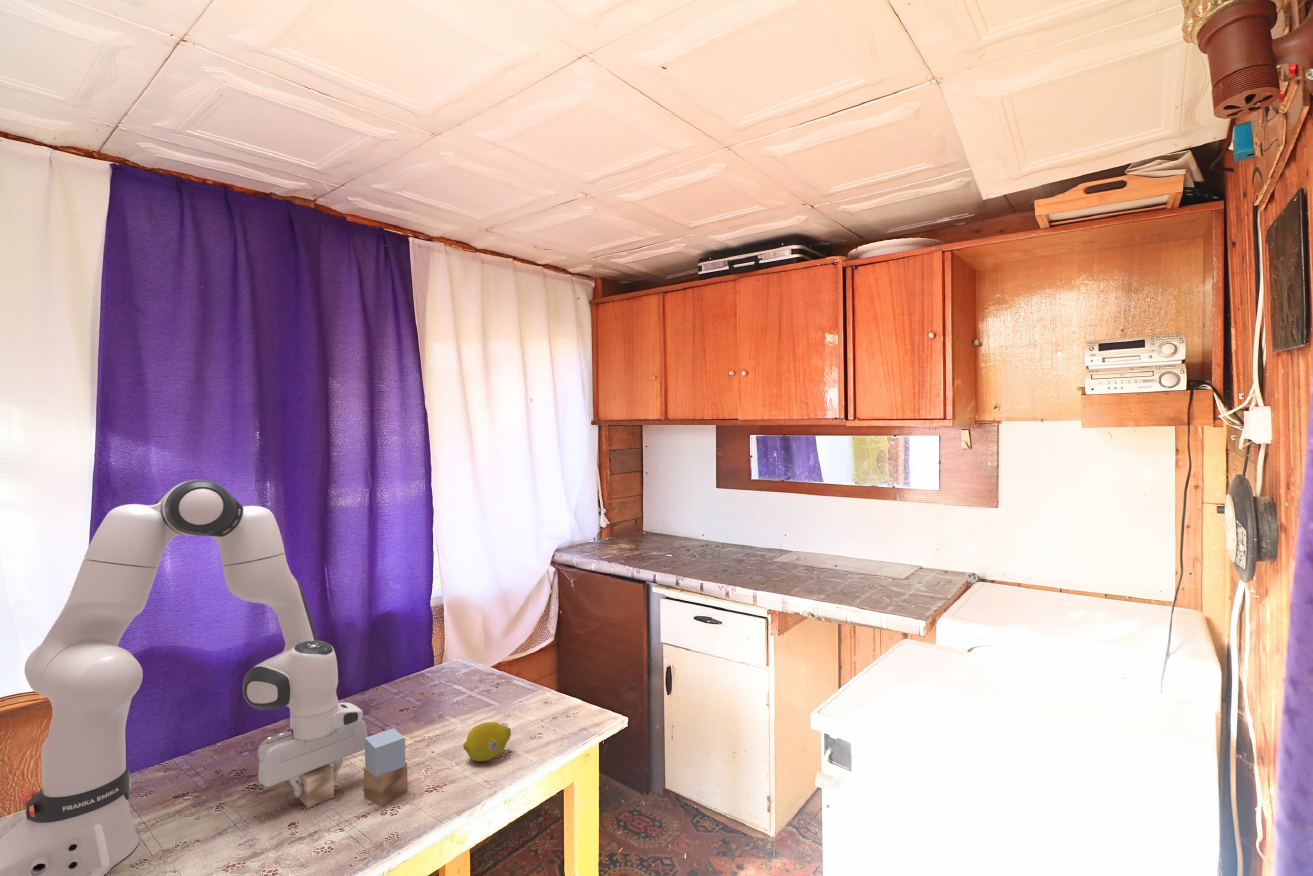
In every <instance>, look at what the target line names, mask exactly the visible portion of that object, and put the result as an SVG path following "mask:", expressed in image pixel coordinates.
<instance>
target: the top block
mask: <svg viewBox="0 0 1313 876" xmlns="http://www.w3.org/2000/svg"><path fill="white" fill-rule="evenodd" d="M405 762H406V737H405V736H404V735H402V733H400V731H398V730H397V729H396V728H394V727H392V728H390V729H387V730H384V731H381V732H379V733H378V732H377V733H375V734H373V735H370V736H369V735H368V737H366V738H365V749H364V763H365V764H364V767H365V768H367V769H368V770H369V771H370V772H371V773H372V774H373V775H374V776H375V777H379V776H381V775H384V774H387V773H389V772H392V771H394V770H397V769H399V768H402V767H405Z"/></svg>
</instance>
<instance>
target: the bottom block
mask: <svg viewBox="0 0 1313 876" xmlns="http://www.w3.org/2000/svg"><path fill="white" fill-rule="evenodd" d="M408 783H409V781H408V762H406V761H405V767H402V768H399V769H397V770H394V771H392V772H389V773H387V774H384V775H381V776H379V777H375V776H374V775H373V774H372V773H371V772H370V771H369V770H368V769H367V768H366V767H365V768H363V798H364V799H366V800H369V801H371V802H373V803H374V804H377V805H379V806H381V807H383V806H385V805H387V804H388V803H390V802H392V801H394V800H396V799H397V798H398V797H401V796H402V795H404V794H406V793H407V792H409V789H408V788H409V787H408V786H409V785H408Z"/></svg>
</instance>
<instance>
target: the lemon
mask: <svg viewBox="0 0 1313 876" xmlns="http://www.w3.org/2000/svg"><path fill="white" fill-rule="evenodd" d="M511 736H512V730H511V728H510V727H509V726H507V725H504V724H502V723H499V722H496V721H495V722H494V721H489V722H482V723H479V724H477V725H475V726H474V727H473V728H472V729H470V730H469V733H468V734H467V736H466V740H465V742H464V743H463V746H462V747H463V750H465V751H466V753H467V755H468V757H469V758H470V759H472V761H476V762H479V763H480V762H481V763H482V762H487V761H491V760H493V759H494V758H496V757H497V756H499V755H500V753H502V752H503V750H504V749H505V747H506V746H507V743H508V742H509V740H510V737H511Z"/></svg>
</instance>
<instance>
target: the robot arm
mask: <svg viewBox="0 0 1313 876" xmlns="http://www.w3.org/2000/svg"><path fill="white" fill-rule="evenodd" d="M181 535H184V536H188V537H190V536H193V537H195V536H196V537H197V536H201V537H202V536H204V537H211V538H213V539H214V540H215V541H216V543H217V545H218V547H219V551H220V556H221V564H222V569H223V575H224V581H225V585H226V586H227V588H228V590H229V592H230V594H231V595H233V596H234V597H236V598H238V599H240V600H241V601H244V602H249V603H254V604H263V605H266V606H268V607H270V608H271V609H272V610H273V611H274V613H276V616H277V620H278V623H279V626H280V629H281V632H282V637H283V640H284V645H285V646H284V648H283V651H282V652H280V653H278V654H276V655H274V656H272V657H269V658H268V659H265V660H263V661H261V662H260V663H258V664H256V665H255V666H254V667H252V668H250V669H249V670H248V671H246V673H245V675H244V677H243V680H242V686H241V691H242V695H243V699H244V700H245V702H246V704H248V705H249V706H250V707H252V708H253V709H256V710H259V711H271V710H276V709H281V708H284V707H288V708H289V717H290V718H289V721H290V724H289V725H290V726H289V727H290V728H289V729H287V730H285V731H281V732H279V733H277V734H274V735H270V736H268V737H266V738H265V740H264V741H262V742H261V743H260V744H259V745H258V747H257V759H258V761H259V762H258V772H257V773H258V776H257V778H258V781H259V782H260V784H261V785H262V786H265V787H266V788H270V787H273V786H275V785H278V784H281V783H283V782H285V781H288V782H289V783H290V784H291V785H292V787H293V794H294V796H295V797H296V798H297V797H298V798H299V796H300V795H302V794H304V793H305V791H304V789H305V786H304V785H303V784H302V783H299V782H298V783H297V781H298V775H301V774H304V773H306V772H309V771H311V770H314V769H316V768H319V767H321V766H324V765H327V764H329V765H330V764H331V763H333V764H332V766H331V767H332V768H333V776H334V782H336V781H338V776H339V771H340V769H341V767H342V766H343V764H344V758H347V757H349V756H351V755H354V754H357V753H360V752H363V751H365V738H366V737H369V735H368V730H367V729H368V728H367V725H366V723H365V721H364V720H363V717H364V712H363V710H362V709H361V708H359V706H357V705H355V704H353V703H351V702H339V699H338V695H337V689H338V684H339V670H338V669H339V667H338V661H337V655H336V652H335V648H334V647H333V645H332V644H330V643H329V642H326V641H323V640H319V638H318V636H317V633H316V630H315V626H314V624H313V620H312V616H311V614H310V609H309V606H308V603H307V600H306V596H305V593H304V591H303V587H302V586H301V584H300V582H299V580H298V579H297V577H295V576H294V575H293V573H292V572H291V570H290V567H289V565H288V561H287V557H286V552H285V547H284V546H285V545H284V542H283V537H282V534H281V531H280V527H279V526H278V523H277V520H276V517H275V515H274V514H273V512H272V511H271V510H270V509H268V508H266V507H264V506H260V505H244V506H243V505H242V504H241V503H240V502H239V501H238V500H237V499H236V498H235V496H234V495H232V494H231V492H230V491H229V490H228V489H227V488H225V487H224V486H223V485H221V484H219V483H217V482H215V481H212V480H209V479H191V480H186V481H183V482H180V483H179V484H177V485H175V486H174V487H172V488H171V489H170V490H169V491H168V492H167V493H165V494H164V496H162V497H161V498H160V499H159V500H158V501H156V502H155V503H154V504H150V505H149V504H141V503H140V504H139V503H132V504H131V503H129V504H123V505H119V506H117V507H115V508H112V509H110V511H109V512H108V513H107V514H106V515H105V517H104V518H103V520H102V521H101V523H100V525H99V526H98V527H97V530H96V531H95V533H94V534H93V537H92V539H91V541H90V542H89V545H88V547H87V550H86V551H85V554H84V556H83V560H82V562H81V564H80V567H79V570H78V572H77V575H76V577H75V581H74V583H73V586H72V588H71V591H70V594H69V596H68V597H67V600H66V602H65V605H64V606H63V608H62V610H61V612H60V614H59V615H58V617H57V618H56V619H55V622H54V624H53V625H52V626H51V627H50V629H49V631H48V633H47V634H46V635H45V637H44V639H43V640H42V642H41V644H40V645H38V646H37V647H36V648H35V649H34V650H33V651H31V653H30V654H29V656H28V657H27V659H26V661H25V663H24V664H25V665H24V675H25V679H26V680H27V681H26V682H27V683H28V685H29V686H30V688H31V690H33V692H35V693H36V694H38V695H39V696H42V697H44V698H46V699H48V700H49V702H50V706H51V708H52V715H51V720H50V727H49V730H48V735H47V738H46V739H45V741H44V742H43V744H42V746H41V754H40V755H41V785H42V786H41V788H40V790H39V791H38V792H37V791H36V790H34V789H29V790H26V791H25V792H23V793H22V794H21V796H20V801H21V802H20V803H21V805H23V806H24V807H25V818H23V819H22V820H21V821H20V822H18V823H17V825H15V826H14V827H13V828H12V829H10V830H9V831H8V832H7V833H6V834H4V835H3V836H2V837H1V838H0V876H104V875H105V874H106V875H107V874H108V873H109V872H110V871H111V870H112V869H113V867H114V866H116V865H117V864H119V863H120V862H122V861H123V860H124V859H126V858H127V857H128V856H129V855H131V854H132V852H133V851H134V850H135V849H136V848H137V847H138V844H139V842H140V836H139V834H138V832H137V829H136V827H135V824H134V822H133V818H132V813H131V810H130V802H129V799H130V793H131V773H130V768H129V767H128V765H127V764H126V763H127V762H126V761H127V760H126V757H127V755H126V749H127V748H126V726H127V720H128V715H129V711H130V706H131V704H132V700H133V697H134V696H135V695H136V693H137V692H138V691H139V689H140V687H141V685H142V683H143V677H144V675H143V674H144V673H143V668H142V666H141V664H140V662H139V661H138V660H137V658H136V657H134V654H132V653H131V652H130V651H128V650H127V649H125V648H123V647H120V646H119V643H120V640H121V639H122V637H123V635H124V633H125V632H126V630H127V629H128V627H129V626H130V624H131V623H132V622H133V620H134V619H135V618H136V617H137V616H138V615H139V614H141V612H143V610H144V609H145V607H146V605H147V602H148V600H149V599H148V598H149V596H150V594H151V590H152V588H153V585H154V582H155V578H156V576H157V573H158V570H159V567H160V564H161V560H162V558H163V554H164V553H165V550H166V548H167V546H168V545H169V544H170V542H171V541H172V540H173V539H174V538H175V537H177V536H181ZM106 875H105V876H106Z"/></svg>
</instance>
